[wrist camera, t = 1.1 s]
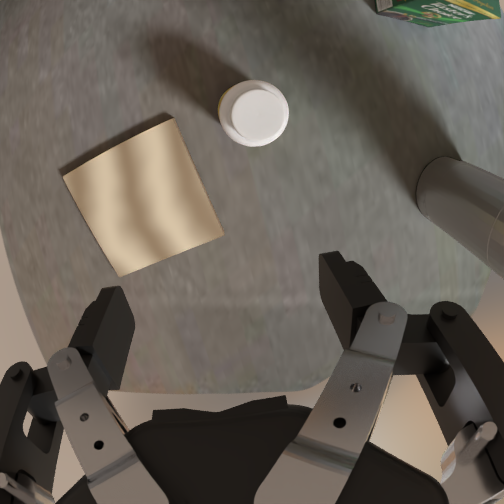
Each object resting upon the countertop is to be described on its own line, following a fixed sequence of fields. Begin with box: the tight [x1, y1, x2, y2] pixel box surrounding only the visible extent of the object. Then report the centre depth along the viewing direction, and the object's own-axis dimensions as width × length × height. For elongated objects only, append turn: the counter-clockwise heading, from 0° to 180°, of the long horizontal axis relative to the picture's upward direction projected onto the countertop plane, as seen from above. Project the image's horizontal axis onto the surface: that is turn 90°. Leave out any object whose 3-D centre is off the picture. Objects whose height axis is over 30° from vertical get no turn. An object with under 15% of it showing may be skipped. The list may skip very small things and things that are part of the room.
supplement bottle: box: [218, 80, 289, 146], centre depth 26 cm, size 6×6×10 cm
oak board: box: [63, 118, 224, 277], centre depth 33 cm, size 14×14×1 cm
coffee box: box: [375, 0, 501, 27], centre depth 20 cm, size 8×3×13 cm, turn 92°
